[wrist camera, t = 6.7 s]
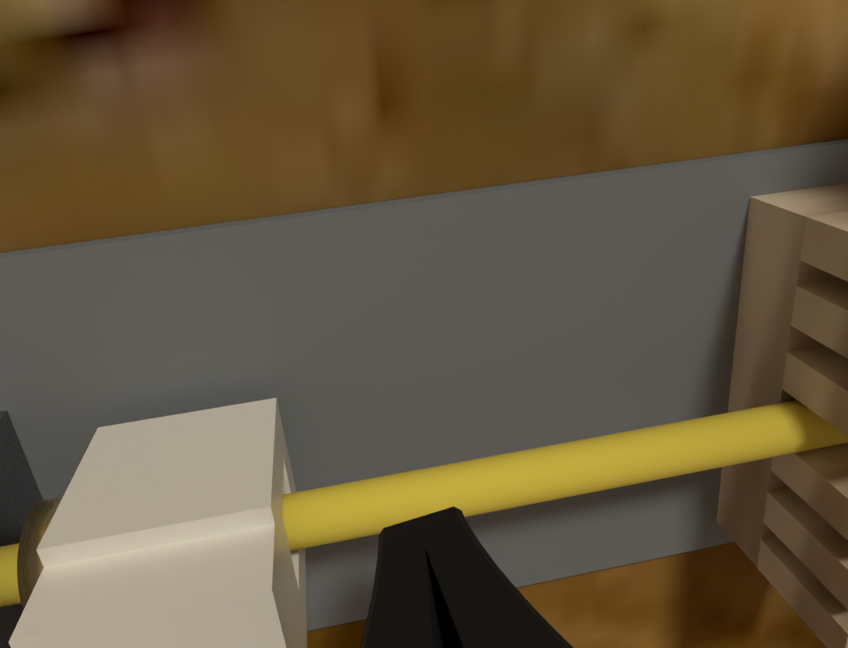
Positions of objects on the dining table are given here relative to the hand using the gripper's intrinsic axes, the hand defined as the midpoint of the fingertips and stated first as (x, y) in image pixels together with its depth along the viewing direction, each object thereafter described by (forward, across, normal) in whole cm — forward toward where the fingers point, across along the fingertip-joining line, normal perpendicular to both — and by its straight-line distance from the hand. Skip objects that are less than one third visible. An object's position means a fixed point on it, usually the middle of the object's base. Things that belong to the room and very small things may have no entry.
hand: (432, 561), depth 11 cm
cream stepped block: (+5, +5, +1) cm, 7 cm away
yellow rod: (+4, 0, +1) cm, 4 cm away
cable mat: (+6, 0, +1) cm, 7 cm away
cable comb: (+6, -10, +3) cm, 12 cm away
